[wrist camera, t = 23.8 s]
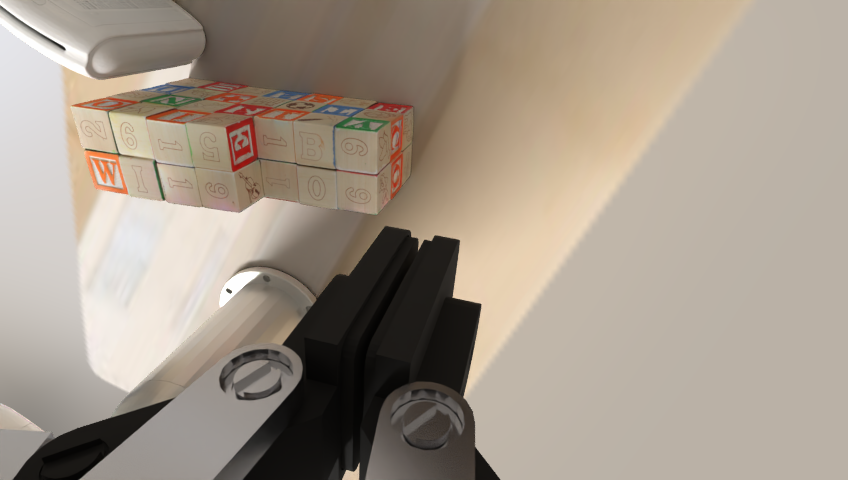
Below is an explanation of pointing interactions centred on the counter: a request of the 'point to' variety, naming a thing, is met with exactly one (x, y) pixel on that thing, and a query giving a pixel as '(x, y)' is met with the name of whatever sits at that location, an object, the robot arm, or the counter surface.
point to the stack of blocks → (246, 146)
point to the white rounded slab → (107, 34)
